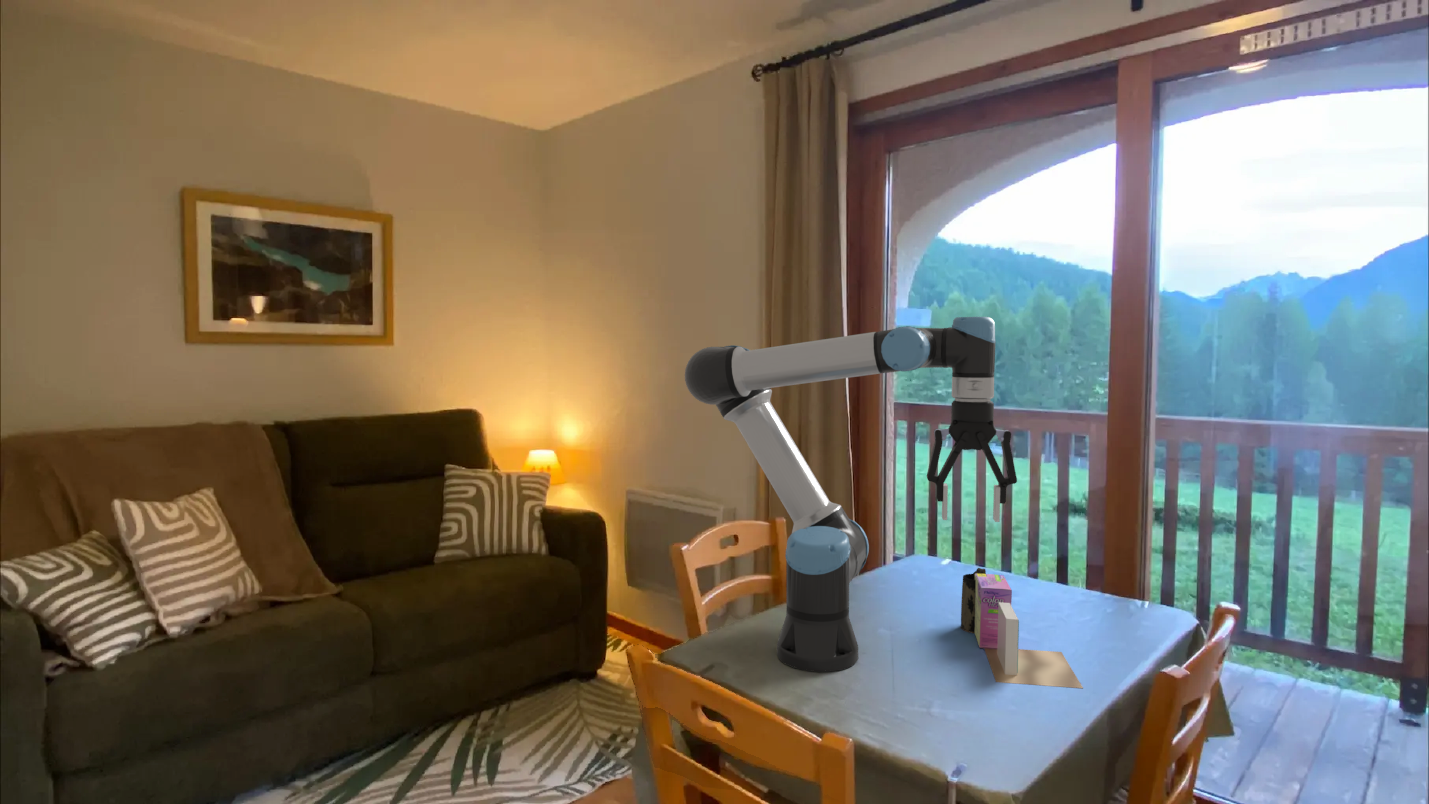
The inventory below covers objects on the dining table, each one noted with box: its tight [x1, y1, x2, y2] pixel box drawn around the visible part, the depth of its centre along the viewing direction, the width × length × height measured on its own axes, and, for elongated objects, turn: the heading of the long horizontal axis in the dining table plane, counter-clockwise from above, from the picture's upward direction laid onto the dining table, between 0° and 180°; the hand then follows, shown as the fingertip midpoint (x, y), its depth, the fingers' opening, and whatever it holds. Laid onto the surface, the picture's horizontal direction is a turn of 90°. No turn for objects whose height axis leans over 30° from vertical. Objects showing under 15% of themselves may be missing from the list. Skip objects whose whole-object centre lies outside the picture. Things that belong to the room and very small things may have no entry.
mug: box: [960, 567, 987, 634], centre depth 163 cm, size 8×6×12 cm
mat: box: [983, 648, 1084, 689], centre depth 144 cm, size 14×16×1 cm
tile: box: [997, 602, 1020, 675], centre depth 144 cm, size 2×9×10 cm, turn 169°
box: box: [974, 573, 1013, 649], centre depth 156 cm, size 10×6×12 cm, turn 168°
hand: (970, 519), depth 151 cm, fingers open, 9 cm apart
